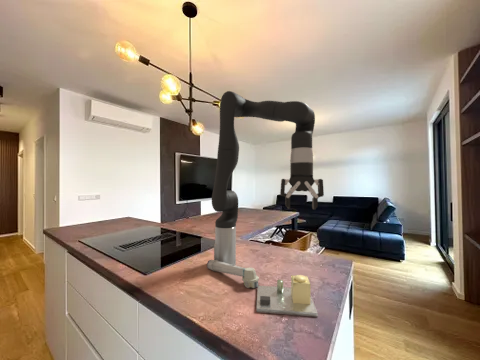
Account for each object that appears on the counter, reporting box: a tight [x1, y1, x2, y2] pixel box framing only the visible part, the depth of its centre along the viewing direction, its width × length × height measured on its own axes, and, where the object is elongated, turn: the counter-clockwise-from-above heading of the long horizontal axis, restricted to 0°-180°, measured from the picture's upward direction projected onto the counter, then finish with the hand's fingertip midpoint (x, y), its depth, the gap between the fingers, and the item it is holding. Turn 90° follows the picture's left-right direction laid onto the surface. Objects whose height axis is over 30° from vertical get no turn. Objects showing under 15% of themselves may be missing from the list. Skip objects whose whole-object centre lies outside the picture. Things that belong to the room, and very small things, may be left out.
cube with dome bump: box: [290, 274, 312, 304], centre depth 64 cm, size 5×5×7 cm
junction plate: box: [256, 279, 319, 318], centre depth 65 cm, size 17×13×6 cm
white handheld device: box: [206, 259, 260, 289], centre depth 81 cm, size 5×7×25 cm
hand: (301, 208), depth 71 cm, fingers open, 8 cm apart
